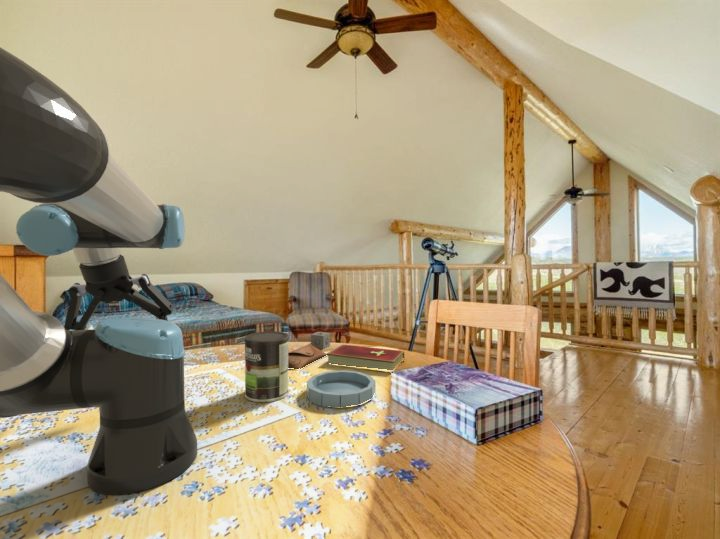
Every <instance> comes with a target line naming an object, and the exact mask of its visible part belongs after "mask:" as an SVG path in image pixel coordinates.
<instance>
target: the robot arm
mask: <svg viewBox="0 0 720 539" xmlns="http://www.w3.org/2000/svg"><path fill="white" fill-rule="evenodd" d="M0 192H2V193H7V194H10V195H12V196H14V197H16V198H18V199H21V200H24V201H28V202H31V203H38V205H35V206H33V207H32V208H30V209H29V210H28V211H26V212H24V213H22V214H21V215H20V216H19V218H18V220H17V222H16V225H15V226H16V227H15V231H16V232H15V233H16V236H17V237H18V239H19V241H20V242H21V244H22V245H24V246H25V247H26V249H29V250H30V251H31V252H33V253H36V254H38V255H42V256H48V257H50V256H51V257H52V256H53V257H54V256H59V255H60V256H61V255H63V254H64V253H68V252H69V251H73V254H74V257H75V261H76V262H77V263H79V266H78V267H79V270H80V272H81V275H82V278H83V280H84V282H85V284H81V283H79V282H75V283H73V285H71V286H70V287H69V288H68V293H69V294H68V295H69V298H70V300H69V303H68V307H67V312H66V317H65V321H64V324H63V323H62V322H61V321H60V320H59V319H58V318H57V317H55V316H54V315H52V314H50V313H46V312H45V311H44V312H43V311H39V310H38V311H37V310H33V309H32V308H31V306H29V304H28V303H27V302H26V301H25V299H23V298H22V297H21V295H20V294H19V293H18V292H17V290H16V289H14V287H13V286H12V285H11V284H10V283H9V282H8V280H7V279H5V277H4V276H3V275H2V274H1V273H0V419H3V418H4V419H5V418H11V417H16V416H20V415H30V414H40V413H48V412H49V413H51V412H59V411H69V410H79V409H89V408H90V409H91V408H98V412H99V428H98V432H97V434H96V438H95V440H94V444H93V447H92V449H91V452H90V455H89V459H88V461H87V466H86V479H87V485H88V487H89V488H90V489H91V490H93V491H94V492H96V493H100V494H105V495H126V494H132V493H138V492H142V491H146V490H149V489H153V488H155V487H158V486H161V485H163V484H165V483H167V482H169V481H171V480H173V479H174V478H177V477H178V476H180V475H181V474H182V473H184V472H185V471H187V470H188V469H189V468H190V467H191V466H192V465H193V463H194V462H195V460H196V458H197V456H198V439H197V436H196V434H195V431H194V428H193V426H192V423H191V421H190V419H189V417H188V413H187V412H186V406H185V405H186V404H185V358H184V357H185V355H186V350H185V348H184V338H183V331H182V329H181V328H180V327H179V325H178V324H176V323H174V322H171V321H169V320H168V315H170V316H171V315H172V313H173V312H174V308H175V306H174V305H173V304H172V303H171V302H170V300H168V299H167V298H166V296H165V295H164V294H163V293H162V292H160V291H159V289H158V288H156V287H155V285H153V283H152V282H151V280H150V278H149V276H148V275H147V274H146V273H143V274H141V275H140V276H137V277H134V278H133V277H131V275H130V273H129V269H128V266H127V262H126V260H125V257H124V255H122V248H123V249H159V250H165V249H172V248H173V249H175V248H180V247H181V246H182V245H183V244H184V240H185V231H186V230H185V229H186V228H185V227H186V226H185V218H184V217H185V216H184V214H183V211H182V209H181V208H180V207H179V206H177V205H169V204H165V203H162V204H156V202H155V201H154V200H153V199H152V198H151V197H150V196H149V195H148V193H146V191H144V189H143V188H142V187H141V186H140V185H139V184H138V183H137V182H136V181H135V179H134V178H132V176H131V175H130V174H129V173H128V172H127V171H126V170H125V169H124V168H123V167H122V166H121V165H120V163H118V162H117V160H116V159H115V158H114V157H113V156H112V155H111V153H110V147H109V143H108V140H107V138H106V136H105V133H104V132H103V130H102V129H101V127H100V126H99V125H98V123H97V122H96V121H95V120H94V119H93V118H92V116H91V115H90V113H88V112H87V110H86V109H85V108H84V107H83V106H82V105H81V104H79V103H78V101H76V100H75V99H74V98H73V97H72V96H70V95H69V94H68V93H67V91H65V90H64V89H63V88H61V87H60V86H59V85H57V84H56V83H55V82H54V81H52V80H51V79H49V78H48V77H47V76H45V75H44V74H43V73H41V72H40V71H38V70H36V69H35V68H34V67H32V66H31V65H29V64H28V63H26V62H25V61H24V60H22V59H20V58H19V57H17V56H16V55H14V54H12V53H11V52H10V51H7V50H6V49H4V48H3V47H1V46H0ZM134 285H135V286H137V287H138V288H141V290H142V291H143V293H145V294H146V295H147V296H148V297H149V298H150V299H149V298H147V297H146V296H144V295H143V294H141V293H140V292H139V291H138V290H137V289H135V288H134V287H133V286H134ZM85 292H87V293H88V294H89V295H91V296H92V297H93V298H92V300H91V301H90V303H89V305H88V307H87V308H86V310H85V311H84V313H83V315H82V317H81V318H80V319H79V321H78V315H79V311H80V309H81V308H80V307H81V303H82V299H83V295H85ZM124 300H125V301H127V302H128V303H133V304H134V305H137V306H138V307H140V308H141V309H143V310H144V311H146V312H148V313H150V314H151V315H153V316H154V317H155V318H152V317H136V316H135V317H134V316H133V317H132V316H131V317H130V316H129V317H114V318H106V319H103V320H101V321H98V323H97V324H96V327H95V329H94V327H93V326H94V325H93V324H88V323H89V321H90V319H91V317H93V315H94V313H95V311H96V310H97V308H98V307H99V305H100V303H101V302H102V303H105V304H110V303H114V302H117V303H119V302H122V301H124Z"/></svg>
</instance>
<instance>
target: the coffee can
mask: <svg viewBox="0 0 720 539" xmlns="http://www.w3.org/2000/svg"><path fill="white" fill-rule="evenodd" d="M289 337H290V335H289V334H288V333H286V332H284V331H283V332H282V331H260V332H258V331H257V332H253V333H250V334H246V335H245V336H244V338H243V339H244V361H245V362H244V364H245V365H244V367H245V368H244V372H245V378H244V379H245V380H244V381H245V382H244V384H245V385H244V388H245V389H244V390H245V392H244V393H245V394H244V396H245V399H246V400H248V401H250V402H252V403H272V402H276V401H280V400H282V399H285V397H287V396H288V395H289V393H290V391H289V369H288V353H289V339H290V338H289Z"/></svg>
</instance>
